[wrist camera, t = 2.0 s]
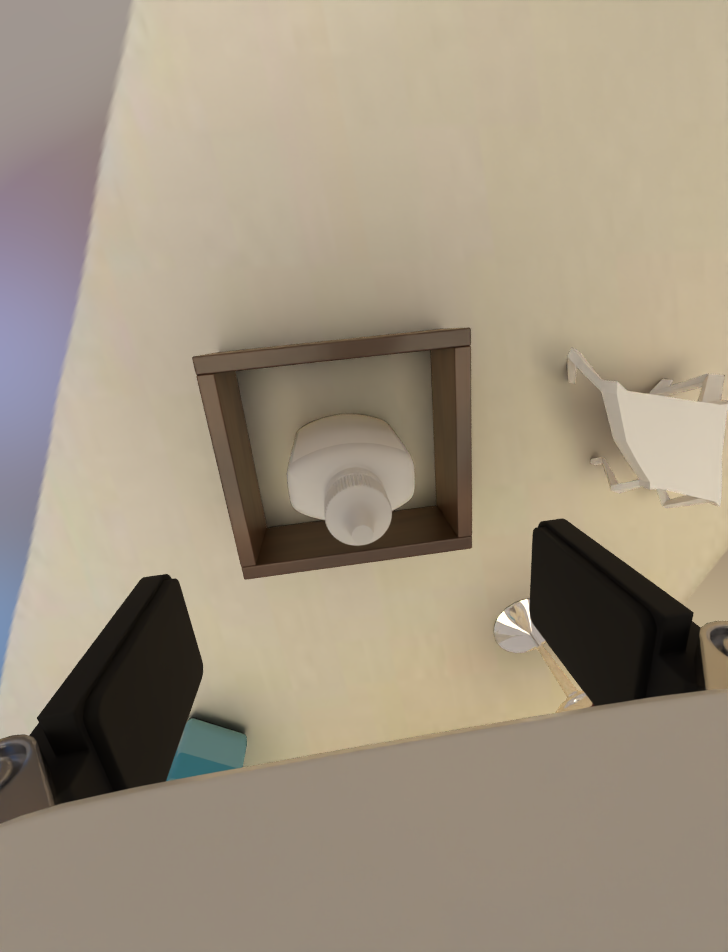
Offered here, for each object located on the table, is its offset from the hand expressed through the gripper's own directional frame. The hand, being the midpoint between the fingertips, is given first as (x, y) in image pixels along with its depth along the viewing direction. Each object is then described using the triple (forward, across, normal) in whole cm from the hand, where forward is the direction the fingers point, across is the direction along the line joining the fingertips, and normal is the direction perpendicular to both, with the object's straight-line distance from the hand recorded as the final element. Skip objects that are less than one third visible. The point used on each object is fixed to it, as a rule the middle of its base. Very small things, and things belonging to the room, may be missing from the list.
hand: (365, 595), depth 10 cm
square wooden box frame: (+15, 0, -1) cm, 15 cm away
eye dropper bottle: (+15, 0, -1) cm, 15 cm away
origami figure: (+15, -17, 0) cm, 23 cm away
